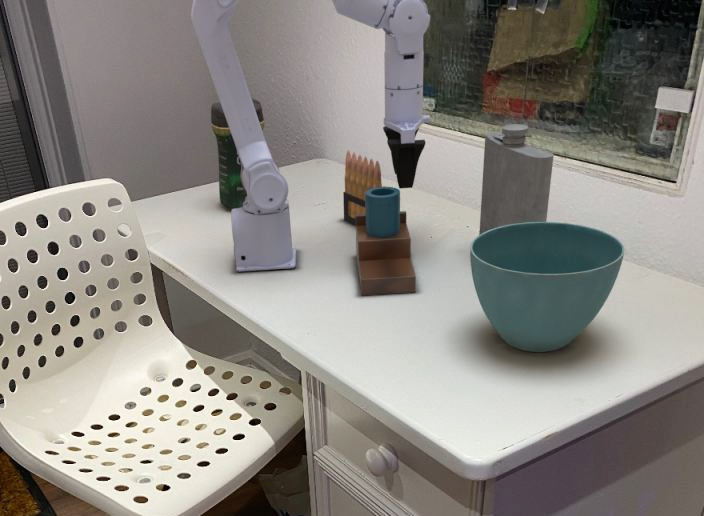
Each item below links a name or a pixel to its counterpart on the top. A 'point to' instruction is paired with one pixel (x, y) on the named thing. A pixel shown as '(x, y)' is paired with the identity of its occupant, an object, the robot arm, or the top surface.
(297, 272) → the top surface
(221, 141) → the coffee jar
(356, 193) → the ammunition clip
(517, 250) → the teal bowl
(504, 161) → the hip flask
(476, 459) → the top surface
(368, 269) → the step shelf
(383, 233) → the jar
